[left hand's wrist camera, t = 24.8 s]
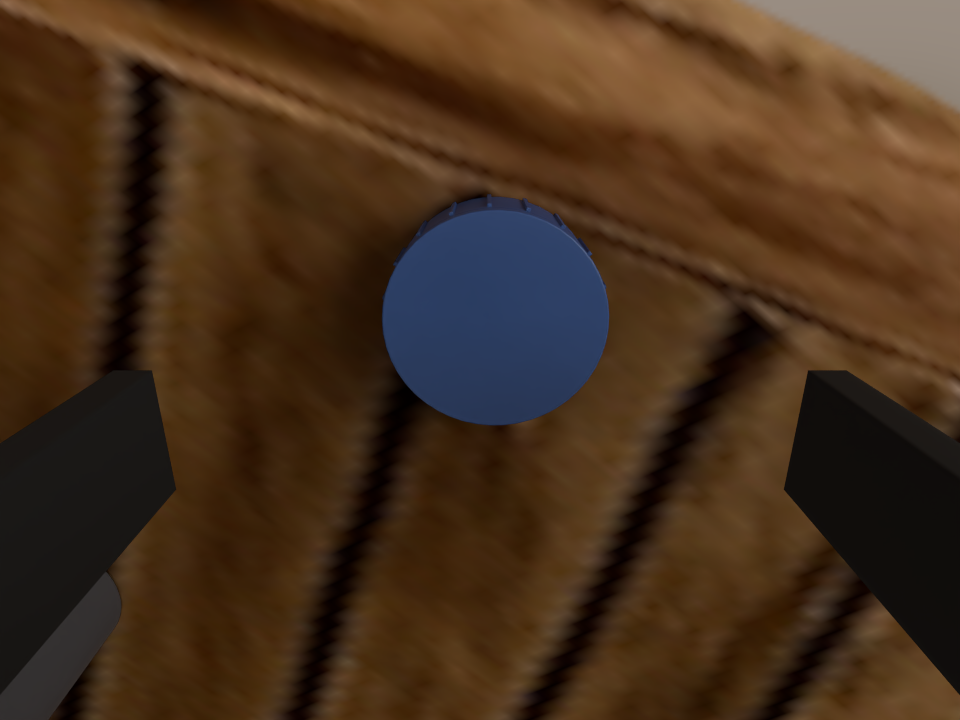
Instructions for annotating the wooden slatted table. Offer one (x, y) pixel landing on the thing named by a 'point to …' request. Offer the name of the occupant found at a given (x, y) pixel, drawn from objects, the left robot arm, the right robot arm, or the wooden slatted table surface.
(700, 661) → the wooden slatted table surface
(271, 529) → the wooden slatted table surface
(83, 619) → the grey bottle
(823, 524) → the left robot arm
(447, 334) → the lid
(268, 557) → the wooden slatted table surface
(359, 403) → the wooden slatted table surface
